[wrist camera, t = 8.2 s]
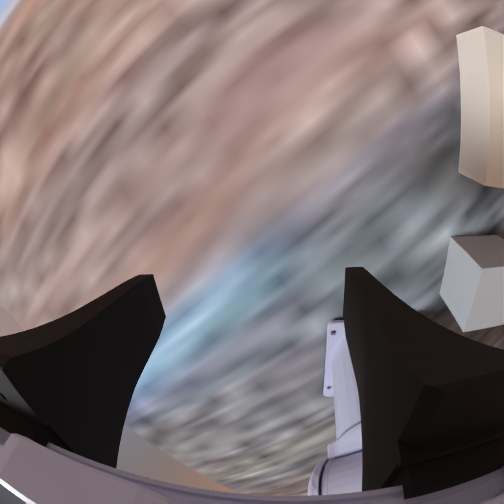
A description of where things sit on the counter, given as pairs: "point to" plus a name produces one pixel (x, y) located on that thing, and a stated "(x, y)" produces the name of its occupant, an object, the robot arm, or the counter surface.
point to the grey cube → (475, 281)
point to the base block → (482, 106)
